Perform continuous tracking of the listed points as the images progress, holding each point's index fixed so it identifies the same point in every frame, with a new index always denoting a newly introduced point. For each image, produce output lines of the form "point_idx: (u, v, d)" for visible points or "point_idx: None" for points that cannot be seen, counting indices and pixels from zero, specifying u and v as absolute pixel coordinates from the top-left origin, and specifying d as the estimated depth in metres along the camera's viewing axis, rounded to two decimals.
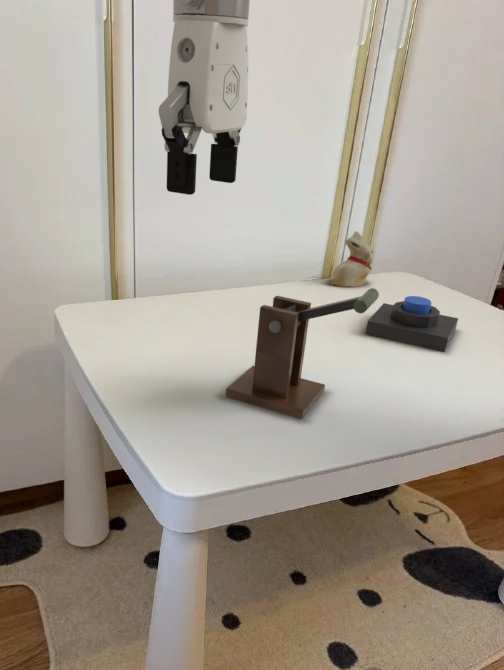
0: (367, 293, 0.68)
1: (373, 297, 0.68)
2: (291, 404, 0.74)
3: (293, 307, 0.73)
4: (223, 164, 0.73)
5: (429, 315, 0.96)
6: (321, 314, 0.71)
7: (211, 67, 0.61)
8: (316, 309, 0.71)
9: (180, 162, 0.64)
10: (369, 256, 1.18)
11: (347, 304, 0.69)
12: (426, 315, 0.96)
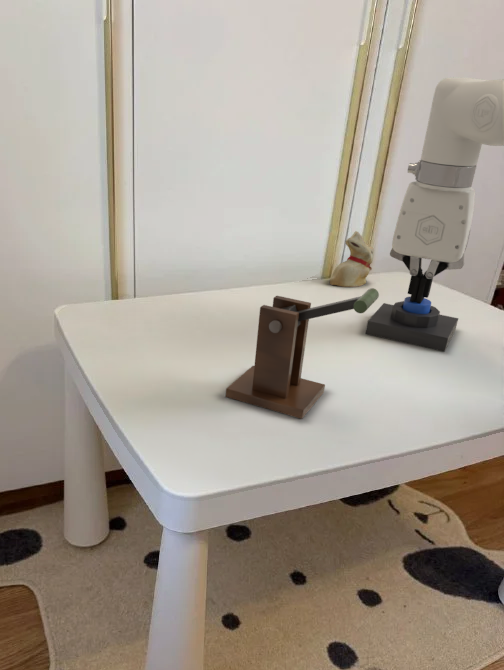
0: (367, 293, 0.68)
1: (373, 297, 0.68)
2: (291, 404, 0.74)
3: (293, 307, 0.73)
4: None
5: (429, 315, 0.96)
6: (321, 314, 0.71)
7: (403, 212, 0.91)
8: (316, 309, 0.71)
9: (411, 279, 0.96)
10: (369, 256, 1.18)
11: (347, 304, 0.69)
12: (426, 315, 0.96)
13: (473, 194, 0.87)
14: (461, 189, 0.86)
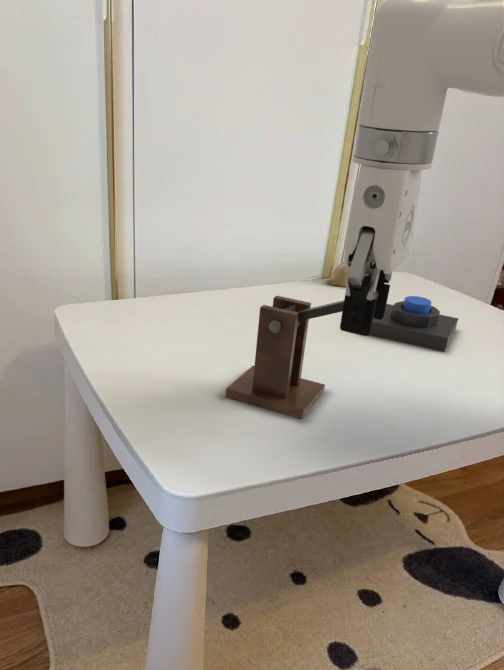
0: None
1: None
2: (291, 404, 0.74)
3: (293, 307, 0.73)
4: None
5: (429, 315, 0.96)
6: (321, 314, 0.71)
7: (399, 214, 0.59)
8: (316, 309, 0.71)
9: (360, 307, 0.65)
10: None
11: None
12: (426, 315, 0.96)
13: None
14: None
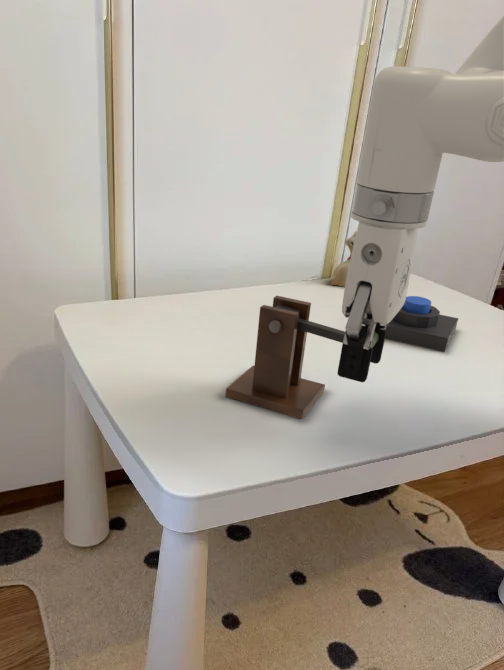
0: None
1: (373, 344, 0.70)
2: (291, 404, 0.74)
3: None
4: None
5: (429, 315, 0.96)
6: (321, 334, 0.72)
7: (395, 270, 0.62)
8: (318, 328, 0.72)
9: (357, 355, 0.67)
10: None
11: None
12: (426, 315, 0.96)
13: None
14: None
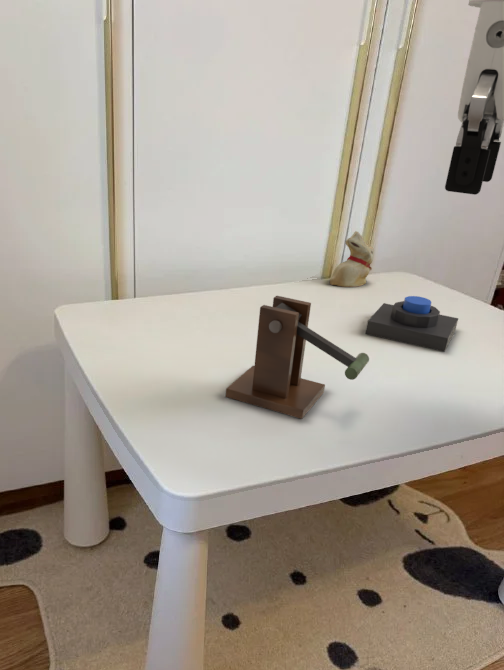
0: (362, 361, 0.72)
1: None
2: (291, 404, 0.74)
3: (299, 317, 0.73)
4: None
5: (429, 315, 0.96)
6: (316, 345, 0.73)
7: None
8: (316, 338, 0.72)
9: (472, 158, 0.59)
10: (369, 256, 1.18)
11: (341, 357, 0.72)
12: (426, 315, 0.96)
13: None
14: None
